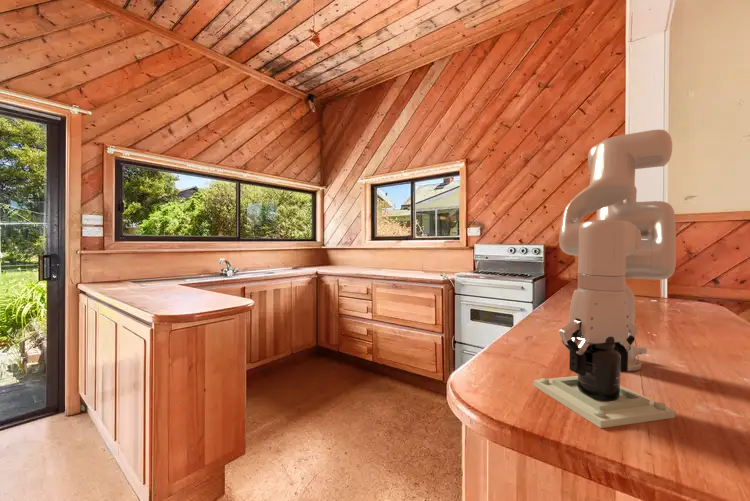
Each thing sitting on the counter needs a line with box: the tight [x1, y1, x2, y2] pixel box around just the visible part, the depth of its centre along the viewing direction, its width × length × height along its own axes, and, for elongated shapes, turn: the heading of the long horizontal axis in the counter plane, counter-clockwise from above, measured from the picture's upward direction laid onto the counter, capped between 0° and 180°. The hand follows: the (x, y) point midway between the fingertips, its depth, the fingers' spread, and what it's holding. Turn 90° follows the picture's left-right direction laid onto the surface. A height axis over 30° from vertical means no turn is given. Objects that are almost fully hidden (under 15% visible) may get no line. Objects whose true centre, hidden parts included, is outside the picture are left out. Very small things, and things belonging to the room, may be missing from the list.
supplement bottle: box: [577, 337, 622, 401], centre depth 62 cm, size 7×7×12 cm
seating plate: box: [533, 375, 676, 429], centre depth 63 cm, size 16×16×2 cm
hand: (598, 370), depth 62 cm, fingers open, 9 cm apart
